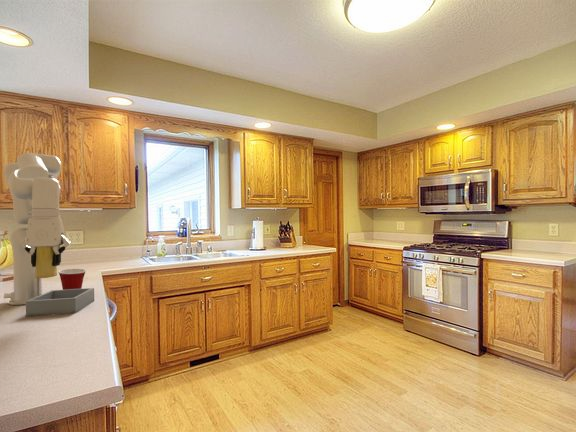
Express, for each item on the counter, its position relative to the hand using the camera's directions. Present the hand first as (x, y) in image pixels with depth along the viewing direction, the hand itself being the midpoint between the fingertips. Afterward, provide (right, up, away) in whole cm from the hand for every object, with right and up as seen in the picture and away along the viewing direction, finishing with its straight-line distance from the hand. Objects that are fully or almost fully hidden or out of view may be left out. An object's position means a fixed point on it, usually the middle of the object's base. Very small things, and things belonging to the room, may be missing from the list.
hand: (46, 265), depth 109 cm
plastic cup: (-14, -20, +34) cm, 42 cm away
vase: (0, -4, 0) cm, 4 cm away
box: (-5, -19, +15) cm, 25 cm away
